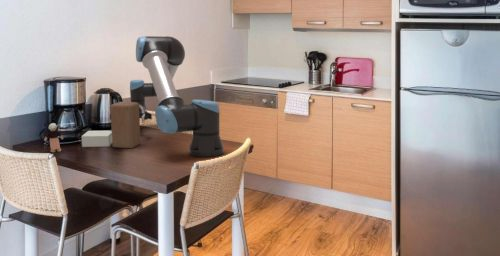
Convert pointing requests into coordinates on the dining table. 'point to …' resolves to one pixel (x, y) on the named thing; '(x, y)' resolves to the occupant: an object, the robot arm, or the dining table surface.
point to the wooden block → (125, 124)
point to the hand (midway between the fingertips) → (128, 119)
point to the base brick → (97, 139)
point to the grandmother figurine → (53, 138)
